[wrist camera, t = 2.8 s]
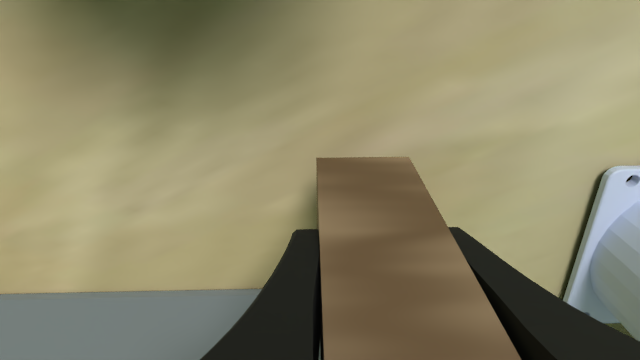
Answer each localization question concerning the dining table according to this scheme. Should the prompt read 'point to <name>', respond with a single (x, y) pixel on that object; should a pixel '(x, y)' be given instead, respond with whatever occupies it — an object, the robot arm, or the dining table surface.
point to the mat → (118, 324)
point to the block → (395, 271)
